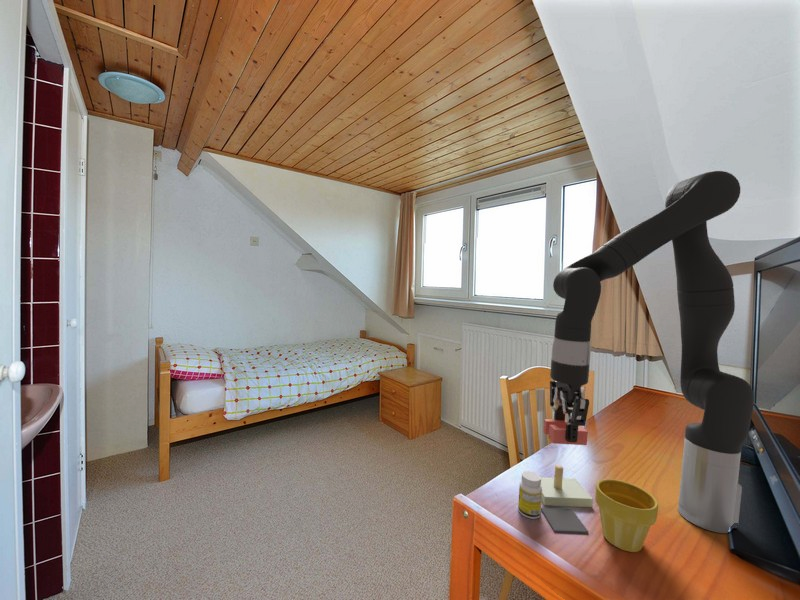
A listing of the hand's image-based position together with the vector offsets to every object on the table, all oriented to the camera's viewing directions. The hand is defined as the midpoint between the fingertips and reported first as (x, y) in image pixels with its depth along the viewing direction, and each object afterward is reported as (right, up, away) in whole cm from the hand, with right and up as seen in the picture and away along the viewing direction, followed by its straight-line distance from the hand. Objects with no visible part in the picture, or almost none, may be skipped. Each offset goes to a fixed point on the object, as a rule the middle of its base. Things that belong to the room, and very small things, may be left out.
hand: (564, 434), depth 77 cm
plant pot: (+8, -19, -7) cm, 22 cm away
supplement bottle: (-8, -18, 0) cm, 19 cm away
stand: (+2, -17, +7) cm, 19 cm away
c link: (0, -1, 0) cm, 1 cm away
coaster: (-1, -18, -2) cm, 18 cm away
